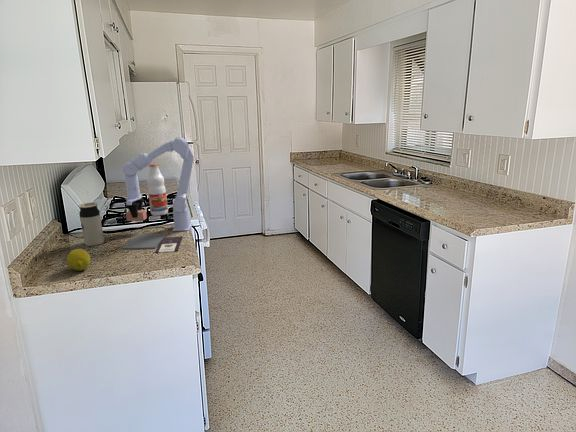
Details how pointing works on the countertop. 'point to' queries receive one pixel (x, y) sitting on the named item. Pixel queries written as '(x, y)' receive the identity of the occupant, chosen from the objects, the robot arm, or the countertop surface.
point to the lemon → (78, 259)
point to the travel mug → (91, 224)
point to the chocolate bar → (169, 244)
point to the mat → (145, 241)
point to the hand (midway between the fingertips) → (136, 215)
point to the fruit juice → (156, 191)
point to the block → (140, 217)
